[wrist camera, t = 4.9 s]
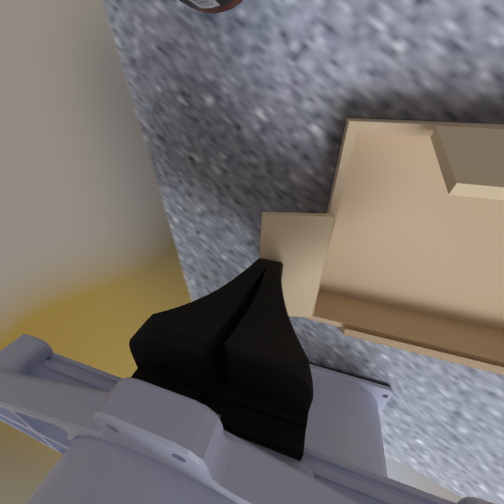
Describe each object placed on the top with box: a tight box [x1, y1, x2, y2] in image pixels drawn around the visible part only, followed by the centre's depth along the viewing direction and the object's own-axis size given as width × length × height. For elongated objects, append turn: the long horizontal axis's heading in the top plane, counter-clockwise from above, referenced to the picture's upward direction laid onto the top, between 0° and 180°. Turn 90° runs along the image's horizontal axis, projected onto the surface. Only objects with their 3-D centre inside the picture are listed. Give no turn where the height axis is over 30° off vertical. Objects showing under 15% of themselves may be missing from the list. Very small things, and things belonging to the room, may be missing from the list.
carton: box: [306, 118, 504, 375], centre depth 12 cm, size 14×18×4 cm
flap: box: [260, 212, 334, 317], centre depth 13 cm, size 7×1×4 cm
